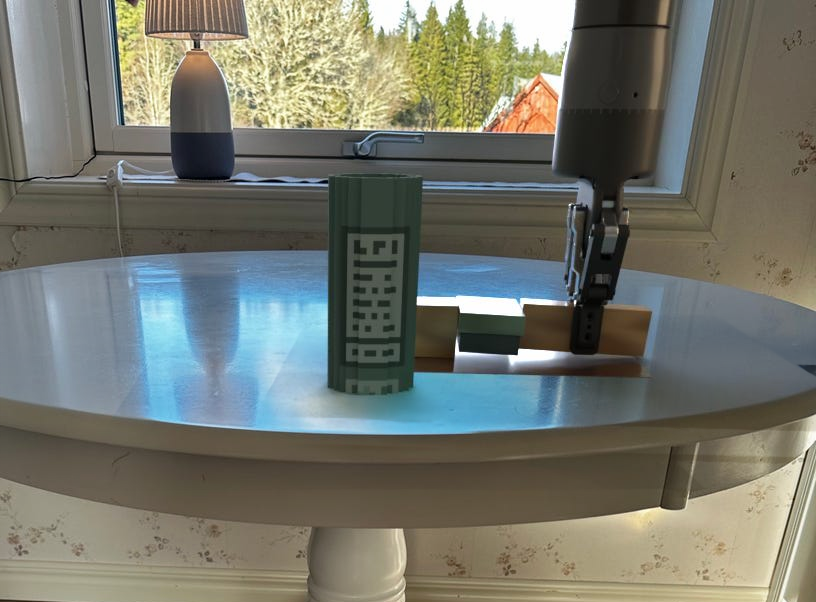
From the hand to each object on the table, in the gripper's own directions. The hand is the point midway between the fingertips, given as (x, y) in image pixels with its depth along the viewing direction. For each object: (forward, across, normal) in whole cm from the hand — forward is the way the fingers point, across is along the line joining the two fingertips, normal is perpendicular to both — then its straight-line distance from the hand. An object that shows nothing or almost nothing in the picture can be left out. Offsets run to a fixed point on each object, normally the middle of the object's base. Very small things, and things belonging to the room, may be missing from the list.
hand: (580, 348), depth 77 cm
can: (+2, -11, +17) cm, 20 cm away
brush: (0, 0, +3) cm, 3 cm away
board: (+2, 0, +6) cm, 6 cm away
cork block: (+1, 0, +12) cm, 12 cm away
